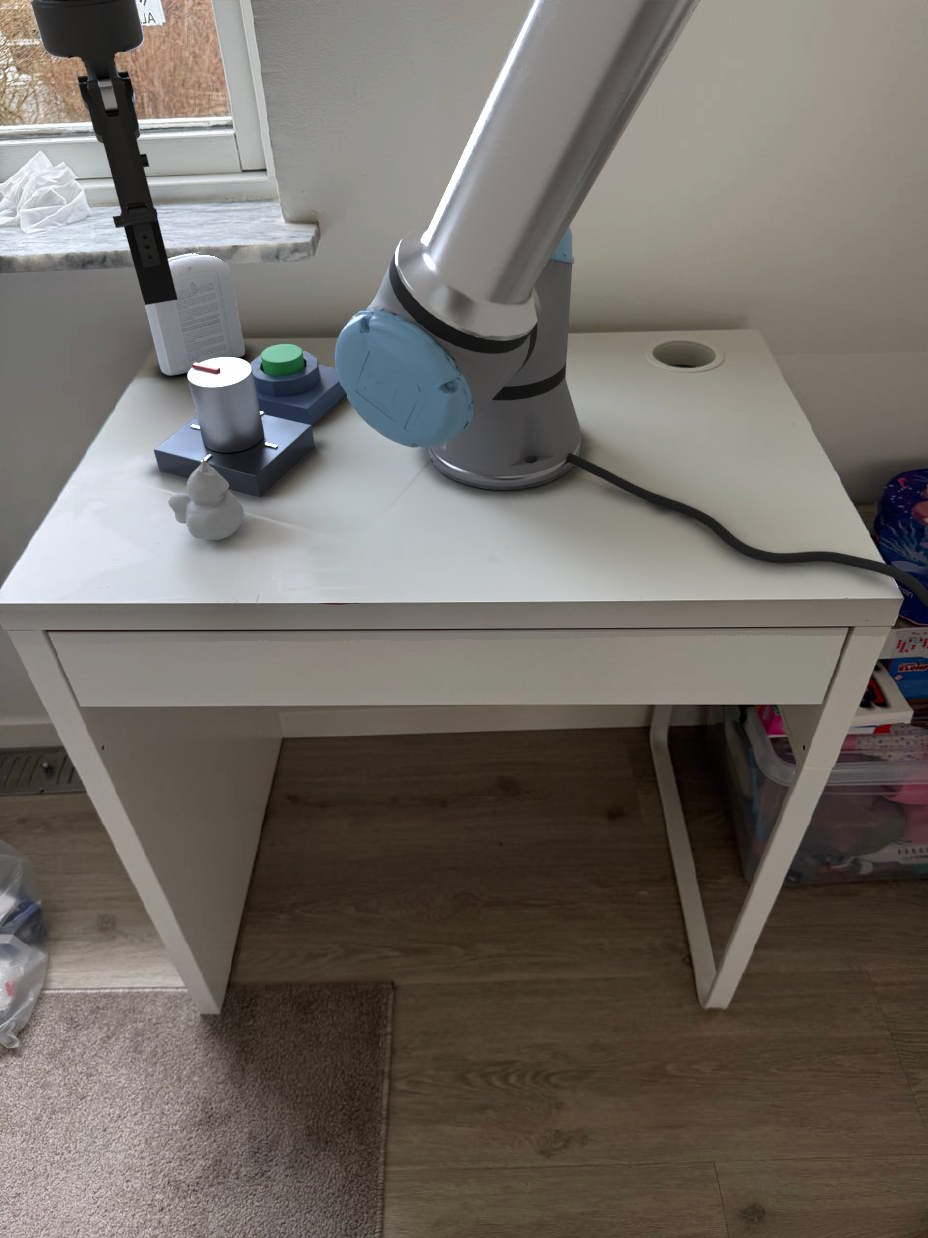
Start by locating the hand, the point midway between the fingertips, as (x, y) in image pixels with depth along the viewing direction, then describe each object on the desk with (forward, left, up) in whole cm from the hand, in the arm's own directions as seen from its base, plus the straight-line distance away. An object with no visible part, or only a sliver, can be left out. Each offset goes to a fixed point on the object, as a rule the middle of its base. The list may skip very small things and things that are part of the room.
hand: (153, 272), depth 84 cm
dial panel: (-5, 0, -18) cm, 19 cm away
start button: (-3, -13, -15) cm, 20 cm away
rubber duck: (-10, +11, -19) cm, 24 cm away
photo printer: (+11, -16, -19) cm, 27 cm away
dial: (-5, 0, -16) cm, 17 cm away
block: (-3, -13, -18) cm, 23 cm away
